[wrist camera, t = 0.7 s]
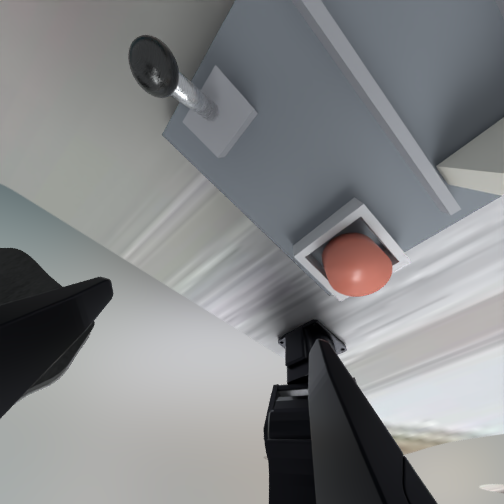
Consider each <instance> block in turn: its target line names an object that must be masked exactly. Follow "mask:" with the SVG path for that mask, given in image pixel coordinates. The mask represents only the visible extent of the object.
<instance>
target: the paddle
mask: <svg viewBox="0 0 504 504" xmlns="http://www.w3.org/2000/svg"><path fill="white" fill-rule="evenodd" d="M436 167H437V169H438V170H439V172H440V173H441V175H442V176H443V178H444V179H445V181H446V182H447V184H449V185H453V186H458V187H463V188H468V189H472V190H477V191H482V192H487V193H491V194H496V195H501V196H504V118H502V119H501V120H499V121H498V122H497V123H495V124H494V125H492V126H491V127H490V128H488V129H487V130H485V131H484V132H483V133H481V134H480V135H479V136H477V137H476V138H474V139H473V140H472V141H470V142H469V143H467V144H466V145H465V146H463V147H462V148H460V149H459V150H458V151H456V152H455V153H454V154H452V155H451V156H449V157H448V158H447V159H445V160H444V161H442V162H441V163H440V164H438V165H437V166H436Z"/></svg>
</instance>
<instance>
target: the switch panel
mask: <svg viewBox="0 0 504 504" xmlns="http://www.w3.org/2000/svg"><path fill="white" fill-rule="evenodd" d="M191 82H192V83H193V84H194V85H195V86H196V87H198V88H199V89H200V90H201V91H202V92H203V93H204V94H206V95H207V96H208V97H209V98H210V99H211V100H213V101H214V102H215V103H216V104H217V106H218V108H219V116H218V118H217V119H216V120H215V121H213V122H210V121H208V120H206V119H204V118H203V117H201V116H200V115H199V114H197V113H196V112H194V111H193V110H191V109H190V108H188V107H187V106H185V105H184V104H182V103H181V102H180V103H179V105H178V106H177V108H176V110H175V112H174V114H173V116H172V117H171V119H170V121H169V123H168V125H167V127H166V128H165V130H164V132H163V134H162V135H163V136H164V137H165V138H166V139H167V140H168V141H169V142H170V143H171V144H172V145H173V146H174V147H175V148H176V149H177V150H178V151H179V152H180V153H181V154H182V155H183V156H184V157H185V158H187V159H188V160H189V161H190V162H191V163H192V164H193V165H194V166H195V167H196V168H197V169H198V170H199V171H200V172H201V173H202V174H203V175H204V176H205V177H206V178H207V179H208V180H209V181H210V182H212V183H213V184H214V185H215V186H216V187H217V188H218V189H219V190H220V191H221V192H222V193H223V194H224V195H225V196H226V197H227V198H228V199H229V200H230V201H231V202H232V203H233V204H234V205H235V206H236V207H238V208H239V209H240V210H241V211H242V212H243V213H244V214H245V215H246V216H247V217H248V218H249V219H250V220H251V221H252V222H253V223H254V224H255V225H256V226H257V227H258V228H259V229H260V230H261V231H263V232H264V233H265V234H266V235H267V236H268V237H269V238H270V239H271V240H272V241H273V242H274V243H275V244H276V245H277V246H278V247H279V248H280V249H281V250H282V251H283V252H284V253H285V254H286V255H287V256H289V257H290V258H291V259H292V260H293V261H294V262H295V263H296V264H297V265H298V266H299V267H300V268H301V269H302V270H303V271H304V272H305V273H306V274H307V275H308V276H309V277H310V278H311V279H312V280H314V281H315V282H316V283H317V284H318V285H319V286H320V287H321V288H322V289H323V290H324V291H325V292H326V293H327V294H328V295H329V296H330V295H331V294H333V295H334V296H335V297H336V298H337V299H338V300H339V301H340V302H341V301H343V300H344V299H346V298H348V297H350V296H346V295H343V294H341V293H338V292H337V291H335V290H334V289H333V288H332V287H331V285H330V284H329V281H328V278H327V275H326V272H325V269H324V266H323V263H322V253H323V250H324V248H325V246H326V245H327V244H328V243H329V242H330V241H331V240H332V239H334V238H335V237H337V236H339V235H342V234H346V233H361V234H364V235H366V236H368V237H369V238H371V239H372V240H373V241H374V242H375V243H376V244H377V245H378V246H379V248H380V249H381V250H382V251H383V252H384V253H385V254H386V255H387V256H388V257H389V258H390V260H391V262H392V268H393V269H392V273H394V272H396V271H398V270H399V269H401V268H403V267H405V266H407V265H409V264H410V263H412V261H411V260H410V259H409V258H408V257H407V255H406V254H405V253H404V252H406V251H407V250H409V249H411V248H413V247H414V246H416V245H418V244H420V243H421V242H423V241H425V240H426V239H428V238H430V237H432V236H433V235H435V234H437V233H439V232H440V231H442V230H444V229H445V228H447V227H449V226H451V225H452V224H454V223H456V222H458V221H459V220H461V219H463V218H465V217H466V216H468V215H470V214H471V213H473V212H475V211H477V210H478V209H480V208H482V207H484V206H485V205H487V204H489V203H490V202H492V201H494V200H496V199H497V198H499V197H501V195H496V194H491V193H487V192H482V191H477V190H472V189H468V188H463V187H458V186H453V185H449V184H447V182H446V181H445V179H444V178H443V176H442V175H441V173H440V172H439V170H438V169H437V167H436V166H437V165H438V164H440V163H441V162H442V161H444V160H445V159H447V158H448V157H449V156H451V155H452V154H454V153H455V152H456V151H458V150H459V149H460V148H462V147H463V146H465V145H466V144H467V143H469V142H470V141H472V140H473V139H474V138H476V137H477V136H479V135H480V134H481V133H483V132H484V131H485V130H487V129H488V128H490V127H491V126H492V125H494V124H495V123H497V122H498V121H499V120H501V119H502V118H504V0H235V2H234V4H233V5H232V7H231V9H230V11H229V13H228V15H227V16H226V18H225V20H224V22H223V24H222V26H221V27H220V29H219V31H218V33H217V35H216V37H215V38H214V40H213V42H212V44H211V46H210V48H209V49H208V51H207V53H206V55H205V57H204V59H203V60H202V62H201V64H200V66H199V68H198V70H197V71H196V73H195V75H194V77H193V79H192V81H191Z"/></svg>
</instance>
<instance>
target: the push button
mask: <svg viewBox="0 0 504 504" xmlns="http://www.w3.org/2000/svg"><path fill="white" fill-rule="evenodd" d="M322 263H323V266H324V269H325V272H326V275H327V278H328V281H329V284H330V285H331V287H332V288H333V289H334V290H335V291H337V292H338V293H341V294H343V295H346V296H353V297H358V296H365V295H369V294H372V293H374V292H376V291H378V290H379V289H381V288H382V287H383V286H384V285H385V284H386V283H387V282H388V281H389V279H390V277H391V274H392V269H393V268H392V262H391V260H390V258H389V257H388V256H387V255H386V254H385V253H384V252H383V251H382V250H381V249H380V248H379V246H378V245H377V244H376V243H375V242H374V241H373V240H372V239H371V238H369V237H368V236H366V235H364V234H361V233H346V234H342V235H339V236H337V237H335V238H334V239H332V240H331V241H330V242H329V243H328V244H327V245H326V246H325V248H324V250H323V253H322Z"/></svg>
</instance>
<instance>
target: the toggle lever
mask: <svg viewBox="0 0 504 504" xmlns="http://www.w3.org/2000/svg"><path fill="white" fill-rule="evenodd" d="M129 65H130V69H131V72H132V74H133V76H134V78H135V80H136V81H137V83H138V84H139V85H140V86H141V87H142V88H143V89H144V90H145V91H146V92H147V93H149V94H151V95H153V96H155V97H160V98H163V97H168V96H172V97H173V98H175V99H176V100H178V101H179V102H181V103H182V104H184V105H185V106H187V107H188V108H190V109H191V110H193V111H194V112H196V113H197V114H199V115H200V116H201V117H203V118H204V119H206V120H208V121H210V122H213V121H215V120H216V119H217V118H218V116H219V108H218V106H217V104H216V103H215V102H214V101H213V100H211V99H210V98H209V97H208V96H207V95H206V94H204V93H203V92H202V91H201V90H200V89H199V88H198V87H196V86H195V85H194V84H193V83H192V82H191V81H189V80H188V79H187V78H186V77H185V76H184V75H183V74H181V73H180V72H179V70H178V66H177V62H176V60H175V57H174V56H173V54H172V52H171V51H170V49H169V48H168V47H167V46H166V45H165V44H164V43H163V42H162V41H161V40H159V39H158V38H156V37H153V36H150V35H142V36H139V37H137V38H136V39H135V40H134V41H133V42H132V44H131V46H130V49H129Z"/></svg>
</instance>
